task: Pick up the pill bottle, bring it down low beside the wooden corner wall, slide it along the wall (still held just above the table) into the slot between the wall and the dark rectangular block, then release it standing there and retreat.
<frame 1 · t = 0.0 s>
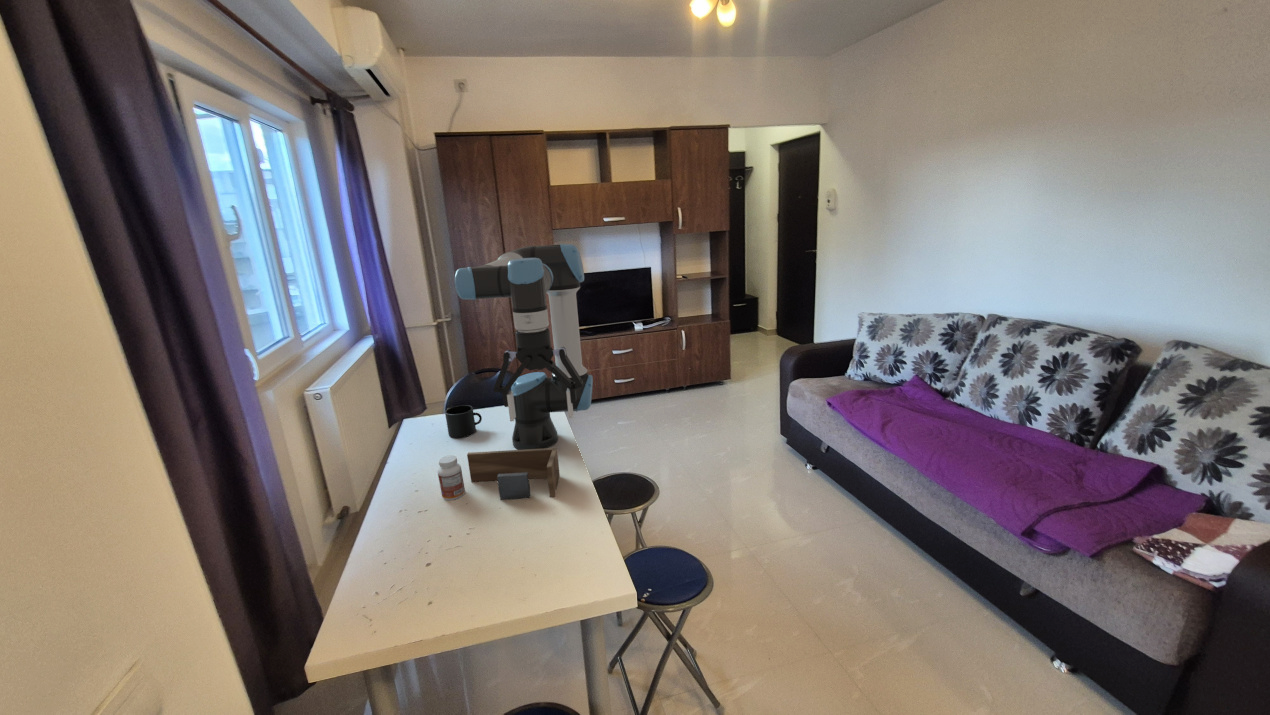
hand: (542, 417, 122), 28 cm above the table, fingers open, 13 cm apart
pill bottle: (453, 495, 145), on the table
wooden corner wall: (516, 488, 147), on the table
mug: (466, 433, 188), on the table
dark rectangular block: (515, 497, 142), on the table
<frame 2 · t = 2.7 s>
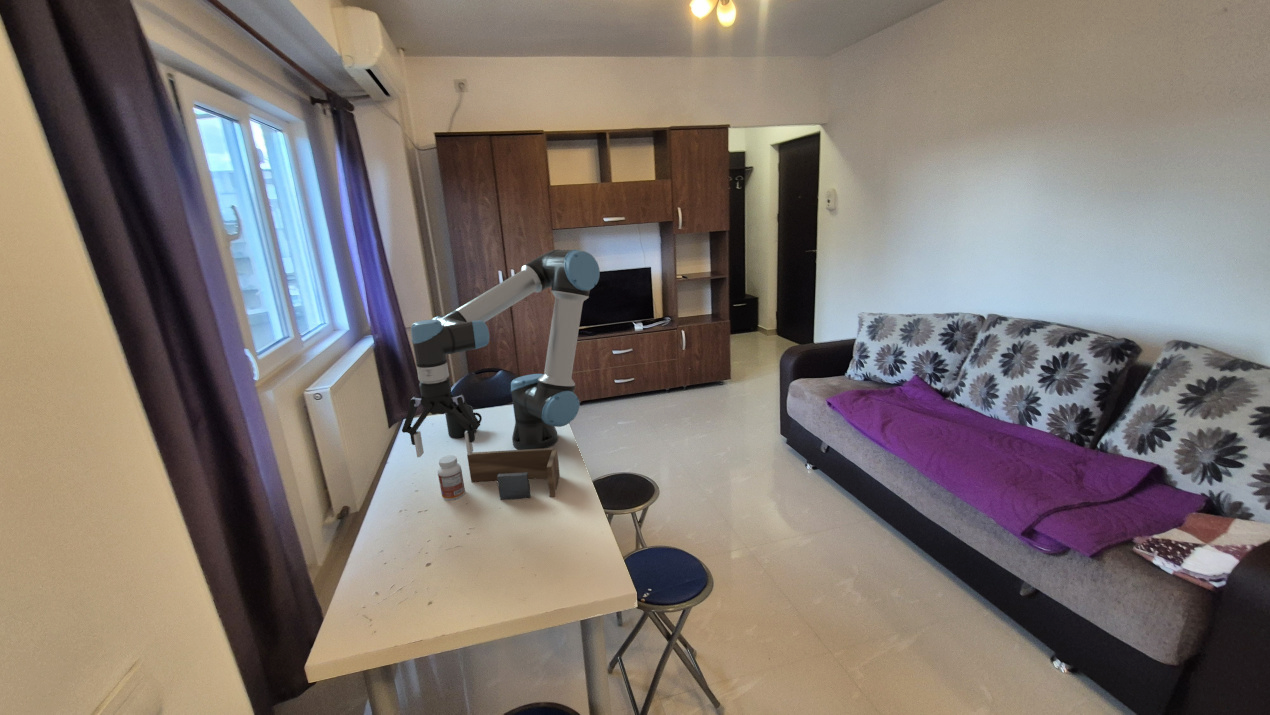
hand: (445, 454, 141), 13 cm above the table, fingers open, 13 cm apart
nothing on the table moved.
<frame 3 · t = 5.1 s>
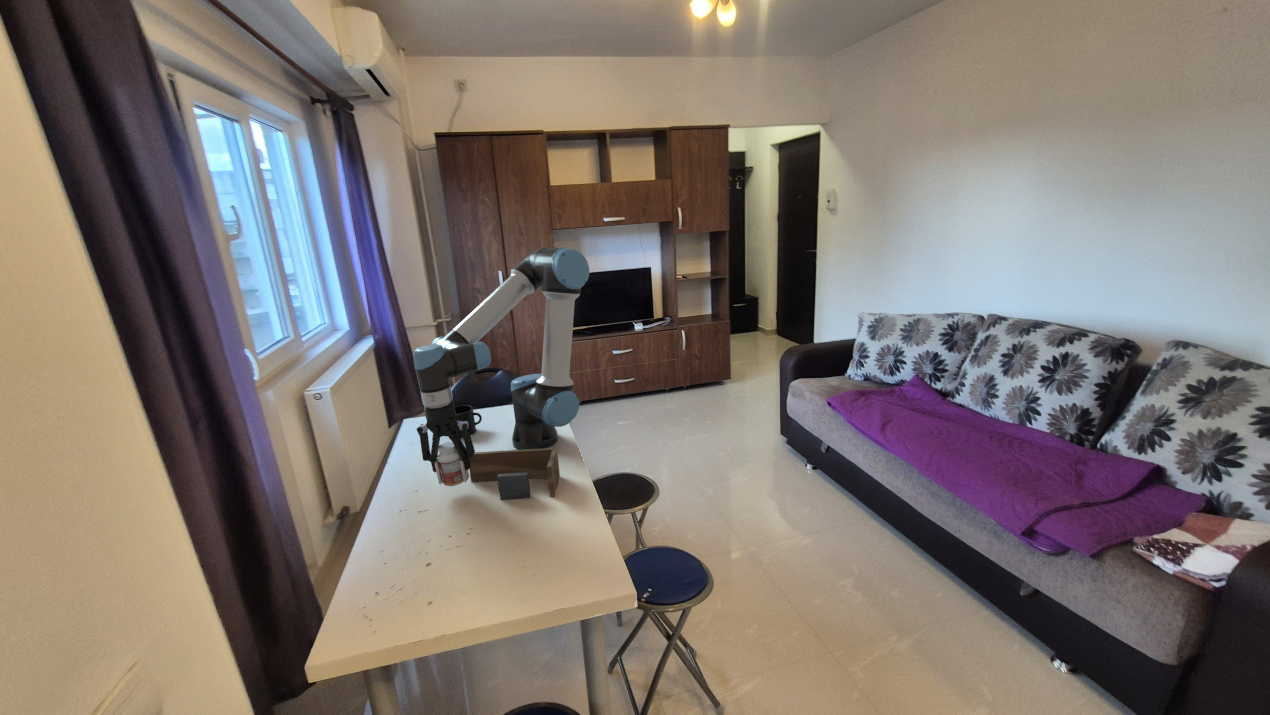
hand: (454, 480, 144), 4 cm above the table, fingers closed on pill bottle, 6 cm apart
pill bottle: (454, 481, 145), point 4 cm above the table, touching gripper
everything else where it was.
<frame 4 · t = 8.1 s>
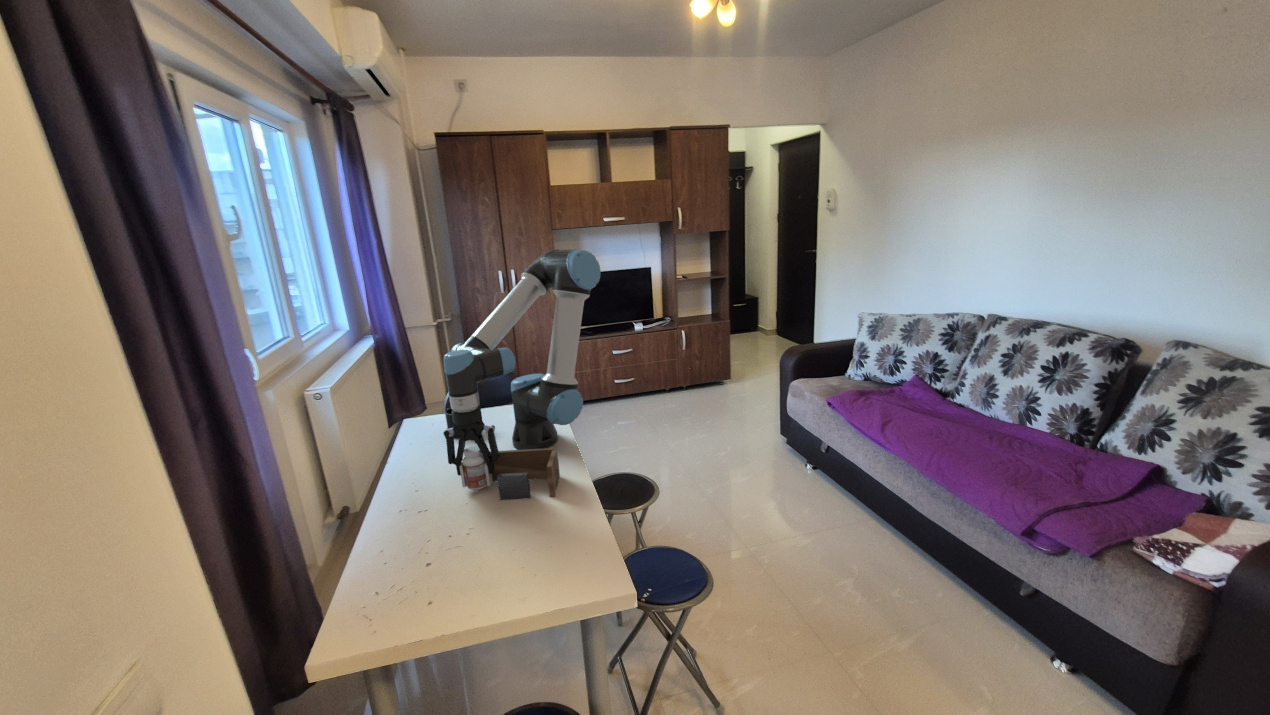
hand: (477, 484, 147), 2 cm above the table, fingers closed on pill bottle, 6 cm apart
pill bottle: (478, 485, 147), point 1 cm above the table, touching gripper
everything else where it was.
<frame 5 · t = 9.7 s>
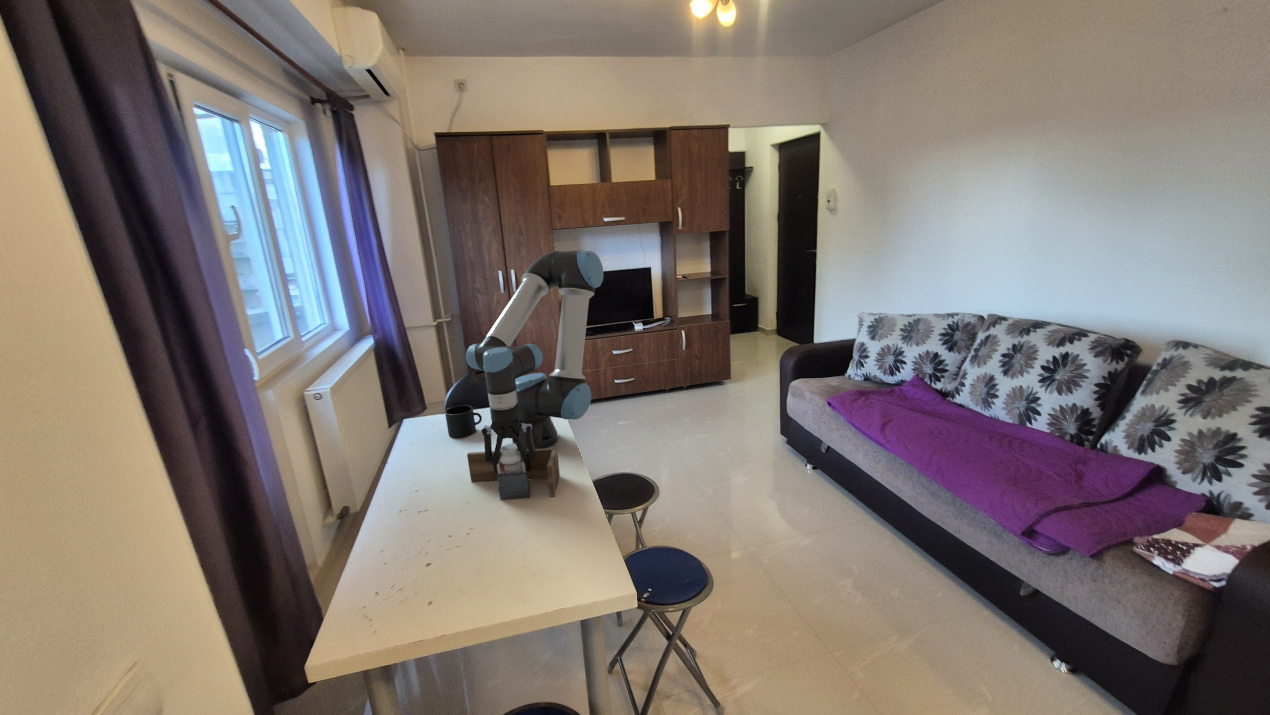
hand: (514, 482, 146), 2 cm above the table, fingers closed on pill bottle, 6 cm apart
pill bottle: (514, 483, 147), point 1 cm above the table, touching gripper
everything else where it was.
when the fingers open (2 cm above the table, at t = 11.1 s): pill bottle drops 2 cm, on the table.
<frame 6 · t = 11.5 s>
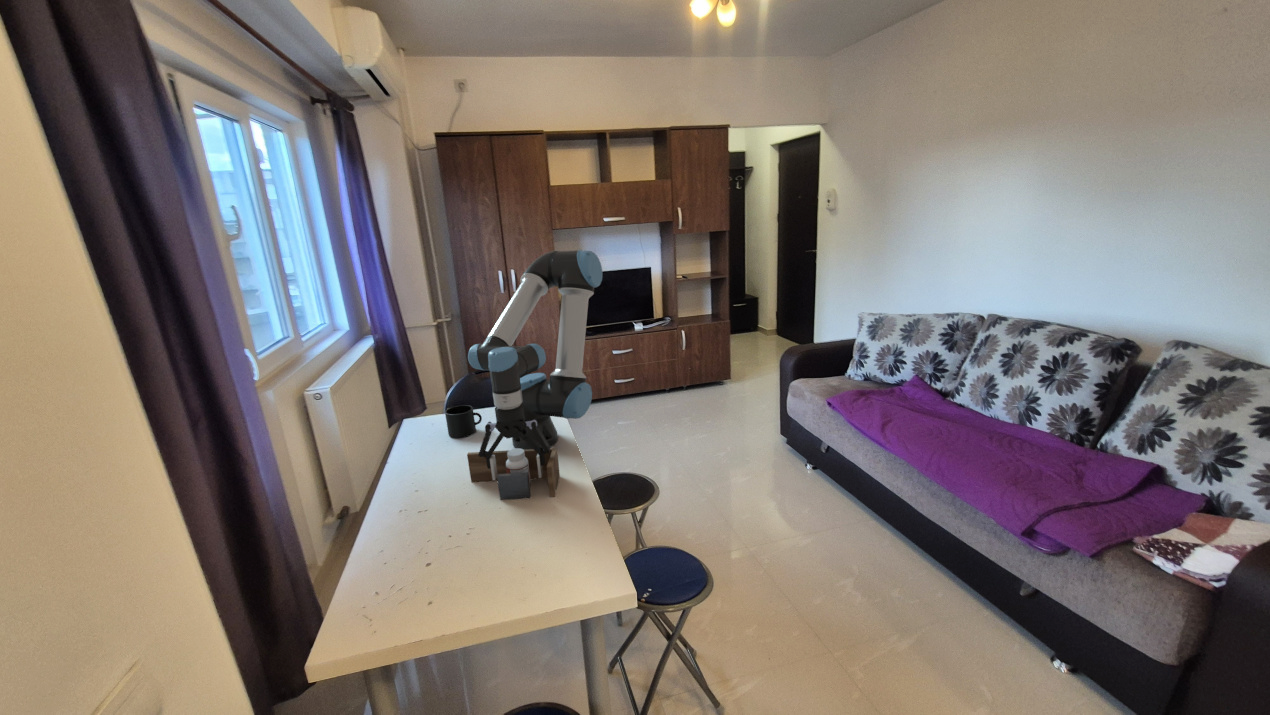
hand: (518, 476, 146), 3 cm above the table, fingers open, 12 cm apart
pill bottle: (520, 488, 147), on the table
everything else where it was.
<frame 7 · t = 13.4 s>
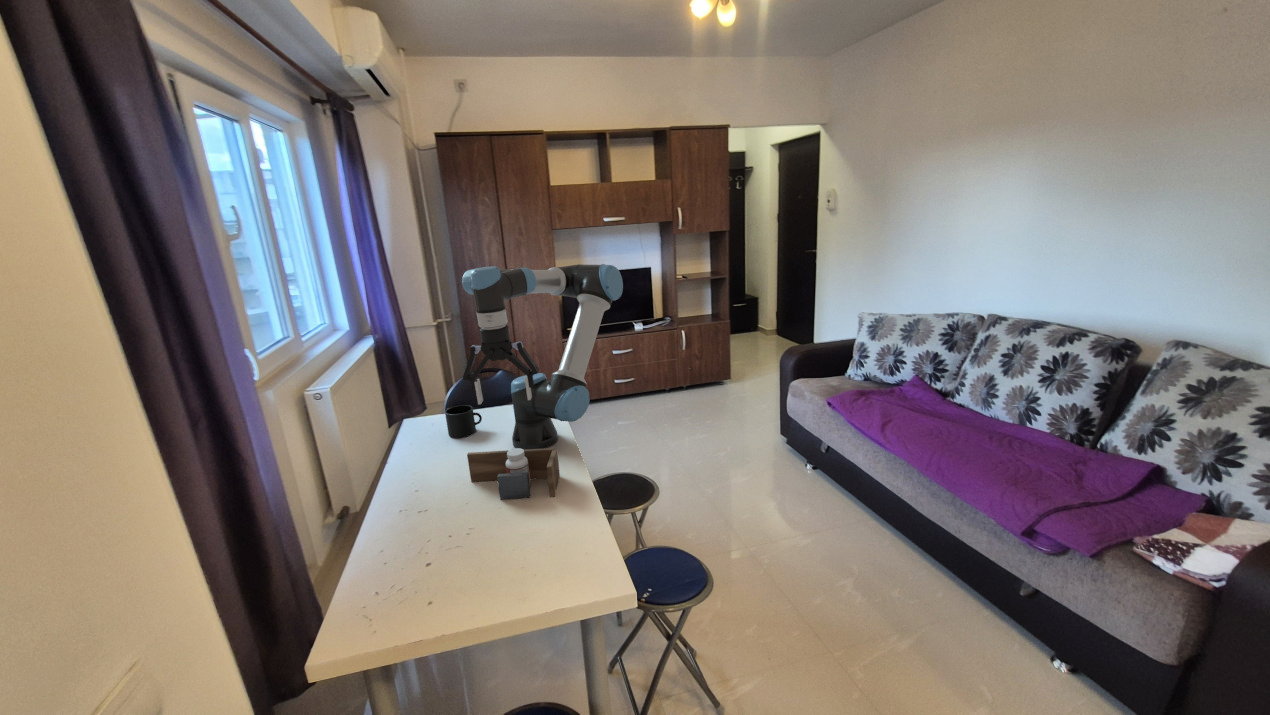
hand: (505, 400, 144), 25 cm above the table, fingers open, 13 cm apart
nothing on the table moved.
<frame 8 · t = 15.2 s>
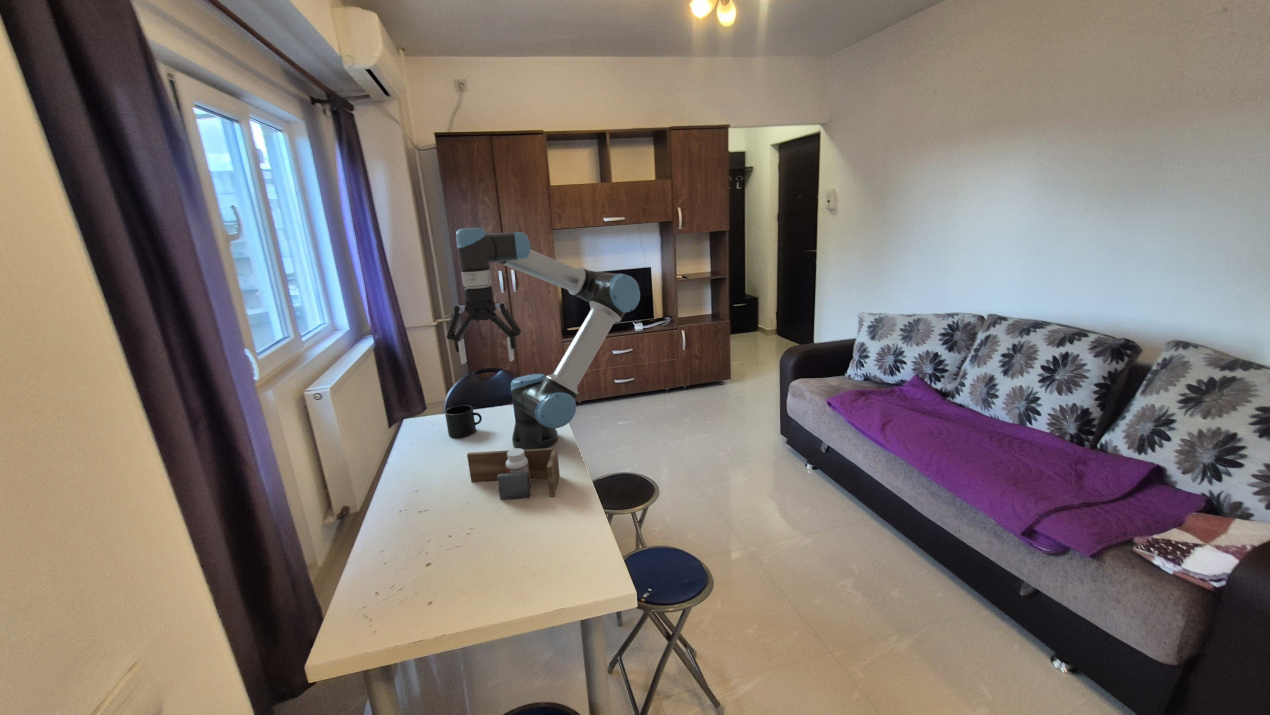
hand: (488, 361, 147), 35 cm above the table, fingers open, 13 cm apart
nothing on the table moved.
at the end: pill bottle inside the target area (1.9 cm from its centre), on the table; pill bottle tilted 0°; the gripper is holding nothing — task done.
